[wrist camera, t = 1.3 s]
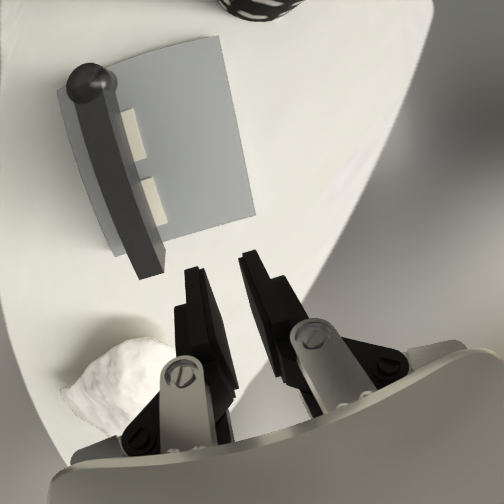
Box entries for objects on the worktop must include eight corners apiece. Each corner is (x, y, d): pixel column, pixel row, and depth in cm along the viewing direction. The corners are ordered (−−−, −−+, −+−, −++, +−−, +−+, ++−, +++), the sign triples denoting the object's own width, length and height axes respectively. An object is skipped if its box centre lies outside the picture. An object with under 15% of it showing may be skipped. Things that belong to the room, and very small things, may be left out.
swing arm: (80, 77, 16) (62, 74, 13) (113, 63, 17) (101, 56, 13) (140, 258, 26) (135, 281, 23) (169, 249, 27) (168, 271, 23)
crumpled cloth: (71, 415, 42) (74, 452, 35) (47, 296, 27) (35, 352, 20) (171, 419, 53) (181, 453, 46) (212, 313, 39) (232, 363, 32)
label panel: (62, 90, 19) (49, 90, 16) (216, 39, 20) (221, 30, 18) (117, 250, 29) (111, 265, 26) (252, 210, 31) (260, 222, 28)
